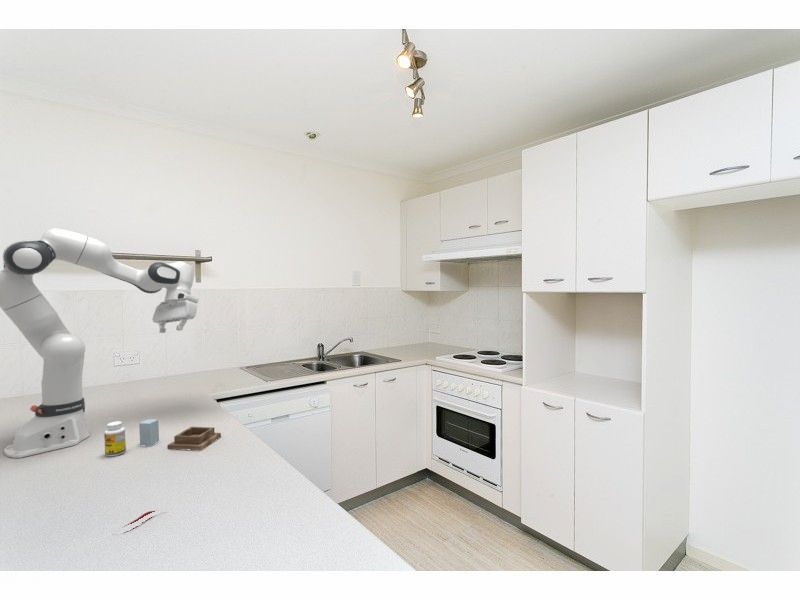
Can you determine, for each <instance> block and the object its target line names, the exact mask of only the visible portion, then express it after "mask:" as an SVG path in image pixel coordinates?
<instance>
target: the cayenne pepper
mask: <svg viewBox="0 0 800 600" xmlns="http://www.w3.org/2000/svg"><path fill="white" fill-rule="evenodd" d="M155 511H156V510H151V511H147V512H145V513H143V514H142V515H140V516H138V518H136V519H135V520H132V521H131V522H130V523H128V524H126V525H125V526H127V525H129V524H132V523H134V522H136V521H138V520H139V519H141V518H143V517H144V516H146V515H148V514H150V513H152V512H155ZM125 526H123V527H125Z"/></svg>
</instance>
